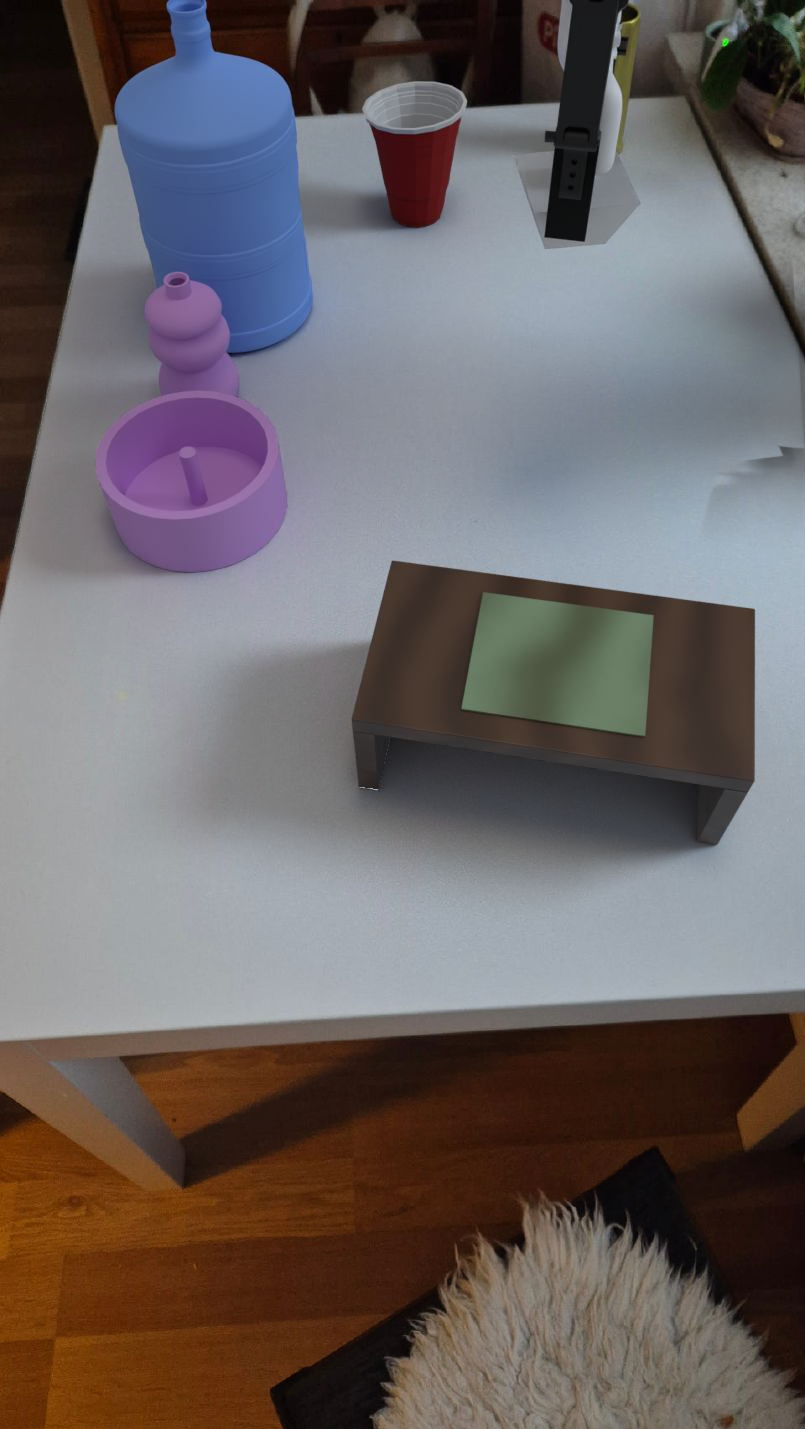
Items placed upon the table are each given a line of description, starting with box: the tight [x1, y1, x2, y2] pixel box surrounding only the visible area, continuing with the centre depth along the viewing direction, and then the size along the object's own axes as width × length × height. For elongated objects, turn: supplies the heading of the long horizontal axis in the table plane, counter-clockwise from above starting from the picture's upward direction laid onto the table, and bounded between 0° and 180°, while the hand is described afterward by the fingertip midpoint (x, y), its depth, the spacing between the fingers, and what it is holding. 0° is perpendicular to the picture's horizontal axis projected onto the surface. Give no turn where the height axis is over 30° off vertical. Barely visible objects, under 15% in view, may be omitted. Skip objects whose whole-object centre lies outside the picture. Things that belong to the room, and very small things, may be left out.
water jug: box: [114, 0, 314, 354], centre depth 93 cm, size 16×16×28 cm
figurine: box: [512, 0, 641, 250], centre depth 66 cm, size 7×9×15 cm
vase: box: [614, 2, 642, 154], centre depth 114 cm, size 6×6×14 cm
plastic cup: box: [361, 81, 468, 228], centre depth 108 cm, size 11×11×12 cm
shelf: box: [351, 559, 756, 846], centre depth 72 cm, size 26×14×10 cm, turn 79°
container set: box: [94, 272, 288, 573], centre depth 87 cm, size 25×15×13 cm, turn 5°
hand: (573, 196), depth 70 cm, fingers closed on figurine, 9 cm apart
